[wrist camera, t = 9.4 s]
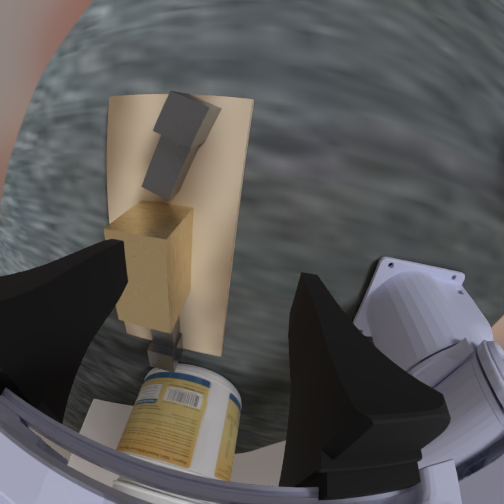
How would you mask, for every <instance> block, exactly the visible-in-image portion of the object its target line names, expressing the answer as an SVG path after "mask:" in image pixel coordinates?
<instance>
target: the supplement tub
mask: <svg viewBox="0 0 504 504" xmlns="http://www.w3.org/2000/svg"><path fill="white" fill-rule="evenodd" d="M241 408H242V404H241V397H240V395H239V393H238V391H237V389H236V388H235V387H234V386H233V385H232V383H230V382H229V381H228V380H227V379H225V378H224V377H222V376H221V375H219V374H217V373H215V372H213V371H211V370H208V369H206V368H202V367H199V366H195V365H190V364H184V363H178V364H177V367H176V370H175V373H173V372H169V371H166V370H162V369H158V368H153V369H152V370H151V371H150V372H149V373H148V374H147V375H146V377H145V379H144V382H143V385H142V387H141V389H140V392H139V394H138V397H137V399H136V401H135V404H134V406H133V409H132V411H131V414H130V416H129V419H128V421H127V423H126V426H125V429H124V431H123V434H122V436H121V439H120V441H119V444H118V446H117V449H116V450H117V451H119V452H122V453H124V454H127V455H130V456H132V457H135V458H138V459H141V460H144V461H147V462H150V463H153V464H156V465H159V466H162V467H166V468H169V469H173V470H177V471H181V472H185V473H189V474H193V475H197V476H202V477H207V478H212V479H218V480H223V481H230V478H231V471H232V465H233V459H234V453H235V446H236V440H237V433H238V427H239V420H240V413H241ZM119 476H120V475H119ZM112 488H114V489H116V490H119V491H121V492H124V493H126V494H128V495H131V496H134V497H136V498H139V499H142V500H144V501H147V502H150V503H153V504H216V503H214V502H208V501H203V500H198V499H194V498H189V497H185V496H181V495H177V494H173V493H170V492H166V491H163V490H159V489H156V488H153V487H150V486H147V485H144V484H141V483H138V482H135V481H132V480H130V479H127V478H125V477H122V476H120V477H119V478H117V480H113V486H112Z"/></svg>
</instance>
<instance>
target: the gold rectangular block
mask: <svg viewBox="0 0 504 504" xmlns="http://www.w3.org/2000/svg"><path fill="white" fill-rule="evenodd" d="M193 213H194V207H187V206H180V205H173V204H166V203H158V202H151V201H143V200H141V201H140V202H138V203H137V204H136V205H134V206H133V207H132V208H130V209H129V210H128V211H126V212H125V213H124V214H122V215H121V216H120V217H118V218H117V219H116V220H114V221H113V222H112V223H110V224H109V225H108V226H107V227H105V228H104V234H105V240H108V239H117V240H122V241H124V249H125V258H126V267H127V275H128V283H127V285H126V287H125V289H124V291H123V293H122V295H121V297H120V299H119V301H118V302H117V304H116V309H117V314H118V318H119V320H122V321H125V322H128V323H132V324H135V325H139V326H143V327H146V328H150V329H154V330H158V331H162V332H166V333H170V334H171V332H172V330H173V328H174V325H175V323H176V321H177V319H178V317H179V315H180V312H181V310H182V308H183V306H184V304H185V302H186V300H187V297H188V295H189V293H190V291H191V259H192V233H193Z"/></svg>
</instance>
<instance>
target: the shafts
mask: <svg viewBox="0 0 504 504" xmlns="http://www.w3.org/2000/svg"><path fill="white" fill-rule="evenodd" d="M221 110H222V108H220V107H218V106H215V105H213V104H211V103H209V102H206V101H204V100H202V99H199V98H197V97H195V96H192V95H190V94H186V93H180V92H174V91H170V93H169V95H168V97H167V99H166V101H165V103H164V105H163V108H162V110H161V112H160V114H159V117H158V119H157V121H156V124H155V126H154V129H153V131H154V132H156V133H158V134H161V137H160V139H159V142H158V144H157V147H156V149H155V152H154V154H153V157H152V159H151V162H150V165H149V167H148V170H147V173H146V175H145V178H144V181H143V184H142V188H144V189H146V190H148V191H150V192H152V193H154V194H156V195H158V196H160V197H162V198H164V199H166V200H168V201H169V200H170V199H171V198H172V197H173V196H175V195H176V194H177V193H178V192H179V191H180V189H181V187H182V184H183V182H184V180H185V177H186V175H187V173H188V171H189V168H190V166H191V164H192V162H193V160H194V158H195V155H196V153H197V151H198V149H199V147H200V145H201V143H204V142H205V141H206V139H207V137H208V135H209V133H210V131H211V129H212V127H213V125H214V123H215V121H216V119H217V117H218V115H219V113H220V111H221ZM151 334H152V341H151V343H150V345H149V347H148V349H147V353H148V358H149V363H150V366H151V367H155V368H158V369H162V370H166V371H169V372H173V373H175V370H176V367H177V364H178V362H179V359H180V357H181V354H182V351H183V338H182V333H180V317H178V319H177V321H176V323H175V325H174V328H173V330H172V332H171V334H170V333H166V332H162V331H158V330H154V329H151Z"/></svg>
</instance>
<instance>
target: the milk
mask: <svg viewBox="0 0 504 504" xmlns="http://www.w3.org/2000/svg"><path fill="white" fill-rule="evenodd" d="M132 409H133V406H131V405H124V404H118V403H113V402H107V401H102V400H97V399H93V401H92V404H91V406H90V408H89V411H88V413H87V416H86V418H85V421H84V423H83V426H82V428H81V431H80V433H79V434H81V435H83V436H85V437H87V438H89V439H92V440H94V441H96V442H98V443H100V444H102V445H105V446H107V447H109V448H112V449H114V450H116V449H117V446H118V444H119V441H120V439H121V436H122V434H123V431H124V429H125V426H126V423H127V421H128V419H129V416H130V414H131V411H132ZM68 466H70V467H72V468H73V469H75V470H77V471H79V472H81V473H83V474H85V475H87V476H89V477H91V478H93V479H95V480H97V481H99V482H101V483H103V484H105V485H107V486H110V487H112V486H113V480H117V478H119V477H120V476H119V475H117V474H115V473H112V472H110V471H108V470H105V469H103V468H101V467H99V466H97V465H94V464H92V463H90V462H88V461H86V460H84V459H82V458H80V457H78V456H76V455H75V454H73V453H72V455H71V457H70V460H69V463H68Z"/></svg>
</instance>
